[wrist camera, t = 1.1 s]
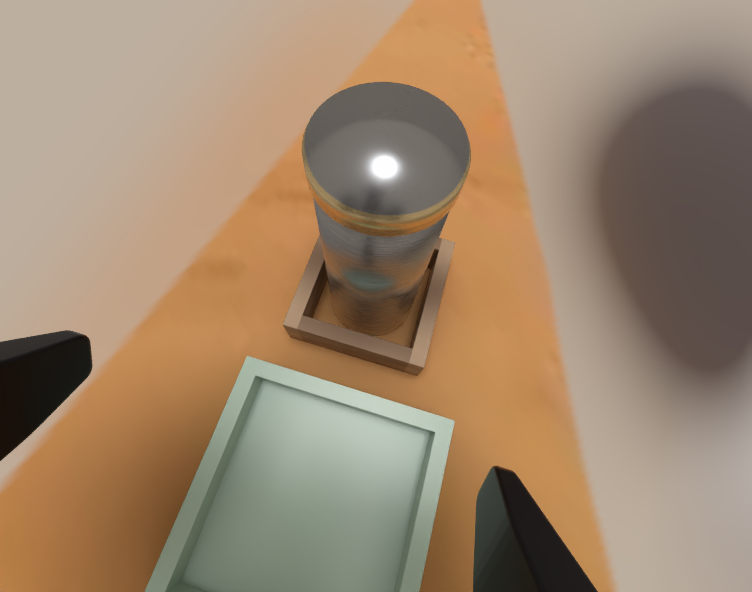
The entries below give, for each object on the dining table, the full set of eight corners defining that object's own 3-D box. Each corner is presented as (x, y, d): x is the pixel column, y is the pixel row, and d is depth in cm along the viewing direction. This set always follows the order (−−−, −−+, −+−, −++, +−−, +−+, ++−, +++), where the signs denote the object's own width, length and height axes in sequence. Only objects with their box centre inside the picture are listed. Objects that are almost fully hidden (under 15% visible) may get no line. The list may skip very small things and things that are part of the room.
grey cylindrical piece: (401, 348, 22) (452, 236, 10) (318, 323, 23) (273, 185, 10) (422, 273, 24) (487, 102, 12) (345, 251, 24) (334, 64, 12)
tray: (390, 669, 17) (395, 706, 14) (165, 588, 17) (136, 611, 15) (443, 423, 21) (454, 420, 18) (259, 365, 21) (247, 355, 19)
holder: (416, 375, 22) (423, 367, 19) (290, 336, 22) (282, 324, 20) (445, 261, 24) (455, 242, 22) (333, 229, 25) (330, 207, 23)
